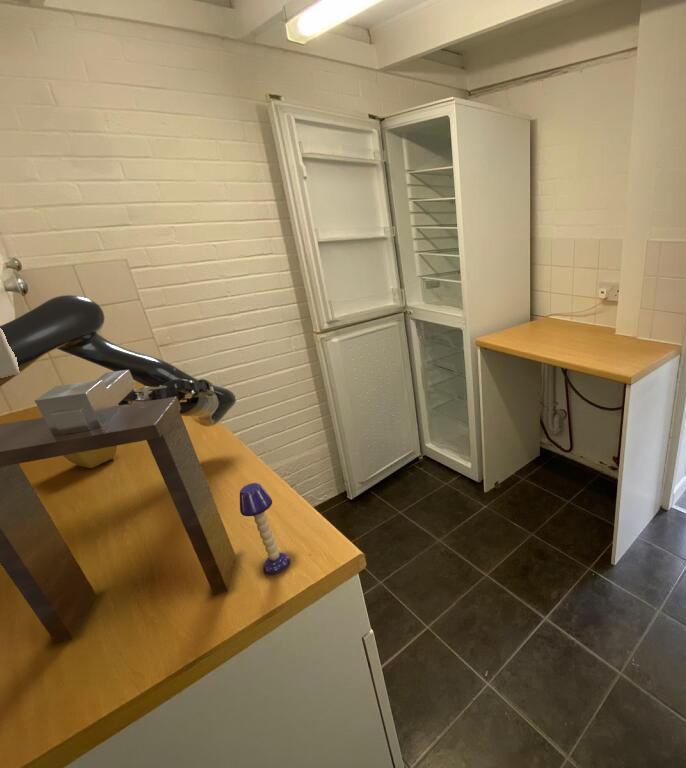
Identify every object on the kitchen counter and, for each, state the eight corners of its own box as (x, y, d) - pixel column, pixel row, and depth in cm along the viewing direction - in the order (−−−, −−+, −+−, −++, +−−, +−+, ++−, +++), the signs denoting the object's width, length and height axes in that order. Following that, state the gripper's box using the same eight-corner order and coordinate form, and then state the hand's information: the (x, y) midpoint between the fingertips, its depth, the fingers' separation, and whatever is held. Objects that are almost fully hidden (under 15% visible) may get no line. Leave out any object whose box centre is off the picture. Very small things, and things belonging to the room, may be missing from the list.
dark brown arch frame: (51, 649, 61) (-78, 465, 48) (85, 595, 69) (-18, 426, 56) (226, 596, 68) (155, 424, 56) (237, 553, 77) (177, 396, 64)
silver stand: (50, 437, 53) (31, 402, 51) (105, 390, 67) (92, 361, 65) (100, 428, 55) (83, 394, 53) (143, 385, 69) (132, 356, 67)
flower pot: (64, 469, 104) (47, 437, 100) (105, 450, 112) (90, 421, 108) (86, 474, 101) (70, 443, 98) (127, 455, 109) (113, 425, 105)
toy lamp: (255, 573, 72) (226, 495, 66) (273, 553, 77) (248, 478, 70) (280, 576, 72) (253, 498, 65) (297, 555, 76) (273, 480, 69)
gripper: (144, 387, 89) (98, 375, 74) (221, 376, 94) (193, 362, 79) (149, 422, 88) (104, 416, 73) (227, 408, 93) (199, 401, 78)
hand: (150, 388), depth 76 cm, fingers open, 8 cm apart
